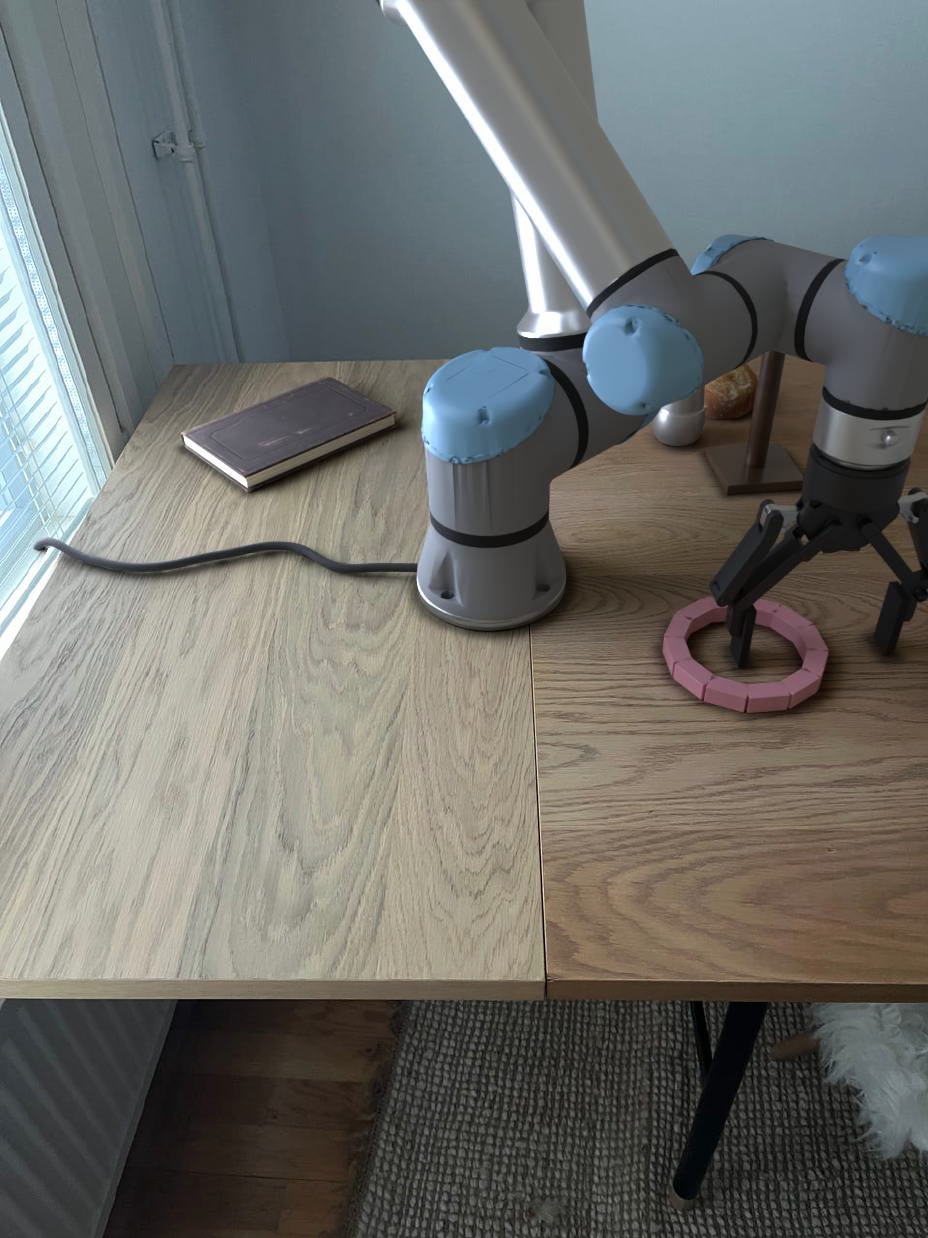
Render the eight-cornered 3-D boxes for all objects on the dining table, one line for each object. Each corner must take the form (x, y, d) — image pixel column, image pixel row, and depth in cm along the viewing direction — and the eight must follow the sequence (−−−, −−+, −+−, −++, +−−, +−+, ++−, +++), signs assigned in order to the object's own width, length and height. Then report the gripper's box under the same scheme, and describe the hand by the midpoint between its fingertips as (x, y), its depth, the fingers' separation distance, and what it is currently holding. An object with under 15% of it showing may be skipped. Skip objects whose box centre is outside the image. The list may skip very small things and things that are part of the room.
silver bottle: (642, 446, 118) (657, 287, 106) (660, 422, 123) (676, 267, 110) (693, 456, 116) (714, 295, 103) (709, 432, 120) (731, 274, 108)
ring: (686, 718, 82) (688, 703, 81) (649, 615, 93) (651, 601, 92) (847, 705, 82) (851, 690, 81) (791, 604, 93) (795, 589, 92)
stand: (726, 494, 109) (747, 362, 99) (705, 455, 116) (723, 327, 106) (803, 489, 109) (832, 356, 99) (778, 450, 116) (802, 322, 106)
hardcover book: (397, 426, 125) (396, 410, 124) (247, 492, 114) (244, 476, 112) (328, 388, 135) (326, 373, 133) (183, 446, 123) (179, 430, 122)
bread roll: (674, 416, 131) (658, 373, 126) (733, 372, 131) (719, 327, 126) (718, 447, 124) (702, 403, 119) (780, 401, 124) (768, 354, 119)
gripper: (717, 485, 71) (687, 690, 84) (1043, 460, 72) (962, 668, 85) (691, 437, 77) (667, 636, 90) (993, 414, 77) (924, 615, 91)
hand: (810, 652), depth 88 cm, fingers open, 13 cm apart
